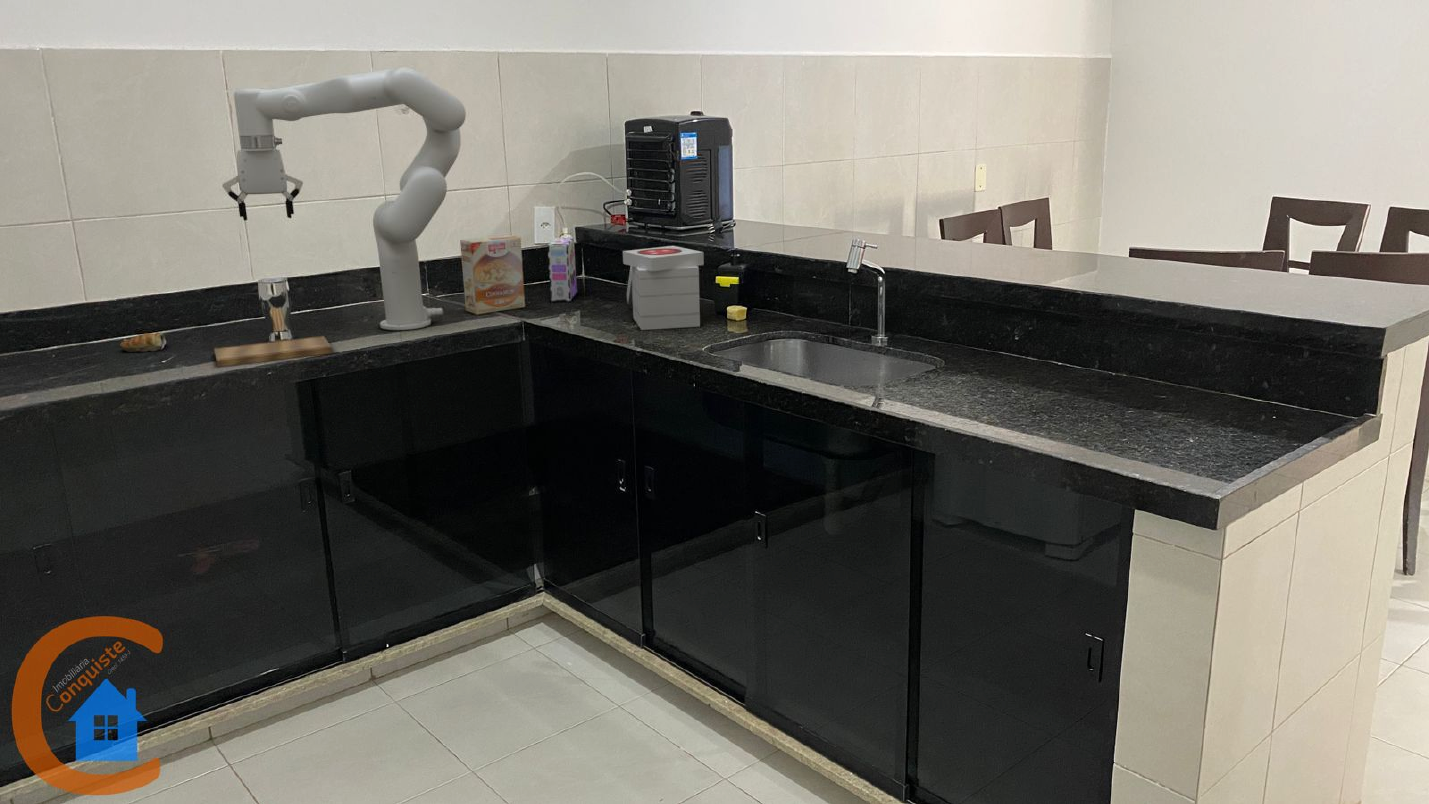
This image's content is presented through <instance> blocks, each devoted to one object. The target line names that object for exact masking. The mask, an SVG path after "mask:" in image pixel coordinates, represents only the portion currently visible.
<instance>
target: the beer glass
mask: <svg viewBox="0 0 1429 804" xmlns="http://www.w3.org/2000/svg"><path fill="white" fill-rule="evenodd" d="M257 285H258V286H257V287H258V288H257V289H258V298H259V304H260V307H261V310H262V313H263V317H264V320H265V322H266V327H267V342H275V341H284V340H293V339H296V338H295V335H294V332H293V329H292V296H291V290H290V286H289V282H288V277H282V276H281V277H278V276H277V277H267V278H261V279H258V280H257Z"/></svg>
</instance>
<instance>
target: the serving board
mask: <svg viewBox="0 0 1429 804" xmlns="http://www.w3.org/2000/svg"><path fill="white" fill-rule="evenodd" d="M332 348H333V347H332V345H331V344H330V343H329V341H328V340H327V338H325V336H324V335H320V336H312V337H311V336H309V337H302V338H295V339H293V340H284V341H275V342H268V341H267V342H259V343H250V344H241V345H233V346H225V347H218V348H217V347H216V348H215V347H214V348H213V351H214V356H215V360H216V364H217V368H220V367H221V368H223V367H229V366H237V365H238V366H239V365H245V364H254V363H262V362H270V361H278V360H279V361H280V360H288V359H294V358H295V359H296V358H304V357H311V356H312V357H313V356H319V355H329V354H333V349H332Z"/></svg>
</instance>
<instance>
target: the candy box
mask: <svg viewBox="0 0 1429 804" xmlns="http://www.w3.org/2000/svg"><path fill="white" fill-rule="evenodd" d="M547 259H548V261H547V262H548V274H549V277H548V278H549V292H550V302H571V301H572V299H574V297H575V296H576V295H577V294H578V284H577V269H576V268H577V267H576V249H575V237H555V238H554V239H553V240H551V241H550V242H549V243H548V244H547Z"/></svg>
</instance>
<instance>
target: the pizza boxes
mask: <svg viewBox="0 0 1429 804" xmlns="http://www.w3.org/2000/svg"><path fill="white" fill-rule="evenodd" d="M704 257H705V256H704V251H699V250H696V249H695V250H694V249H690V248H685V247H681V246H677V245H666V246H658V247H650V248H639V249H632V250H631V249H630V250H622V264H623V265H626V266H630V268H629V274H628V281H627V287H626V301H627V305H628V306H629V305H632V315H633V318H632V319H633V320H634V321H635V323H636V325H637V326H638V328H639V329H640V331H648V330H665V329H681V328H695V327H701V311H700V309H701V308H700V268H699V266H704V264H705V261H704Z"/></svg>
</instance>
